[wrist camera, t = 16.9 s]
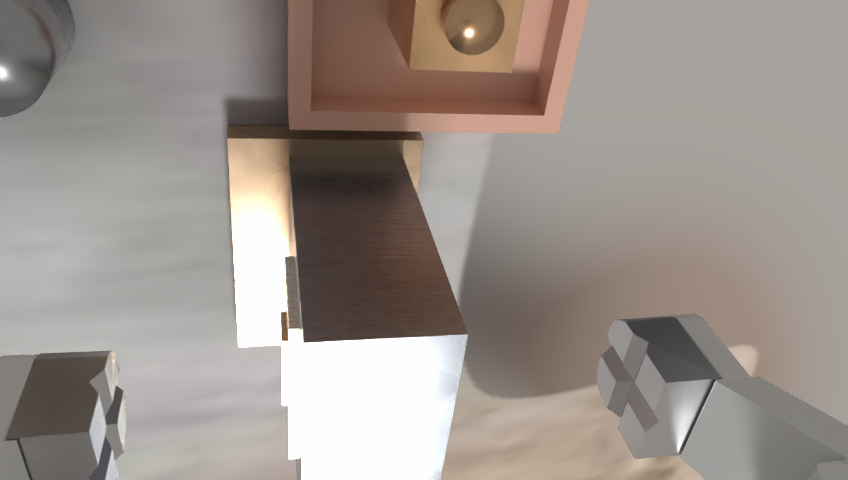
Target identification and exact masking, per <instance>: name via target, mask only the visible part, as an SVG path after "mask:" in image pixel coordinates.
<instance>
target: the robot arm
mask: <svg viewBox="0 0 848 480" xmlns="http://www.w3.org/2000/svg"><path fill="white" fill-rule="evenodd" d="M607 337H608V339H609V341H610V342H611V344H612V346H611V347H610V348H609V349H608V350H607V351H606V352H604V353H603V354H602V355H601V358H600V361H599V365H598V368H597V379H598V388H599V391H600V395H601V397H602V399H603V401H604V403H605V405H606V407H607V408H608V409H609V410H611V411H612V412H614V413H615V414H617V415H618V416H619V417H621V418H620V422H619V426H618V429H619V431H620V433H621V435H622V436H623V438H624V440H625V442H626V444H627V446H628V447H629V449H630V451H631V453H632V455H633V456H634V458H635V459H640V458H652V457H664V456H677V455H681V456H680V458H681V459H682V460H683V461H684V462H686V463H687V464H688V465H689V466H691V467H692V468H693V469H694V470H695V471H697V472H698V473H699V474H700V475H702V476H703V477H704V478H705V479H706V480H848V425H845V424H844V423H842V422H840V421H839V420H837V419H835V418H833V417H831V416H829V415H827V414H826V413H824V412H822V411H820V410H819V409H817V408H815V407H813V406H811V405H809V404H808V403H806V402H804V401H802V400H800V399H799V398H797V397H795V396H793V395H791V394H789V393H788V392H786V391H784V390H782V389H780V388H778V387H777V386H775V385H773V384H771V383H769V382H768V381H766V380H764V379H762V378H760V377H750V376H749V374H748V373H747V372H746V371H745V369H744V368H743V367H742V366H741V364H740V363H739V362H738V361H737V359H736V358H735V357H734V356H733V354H732V353H731V352H730V351H729V350H728V348H727V347H726V346H725V345H724V343H723V342H722V341H721V340H720V338H719V337H718V336H717V335H716V333H715V332H714V331H713V330H712V329H711V327H710V326H709V325H708V324H707V322H706V321H705V320H704V319H703V318H702V317H701V316H699V315H697V314H695V313H693V314H681V315H670V316H658V317H645V318H630V319H617V320H616V321H615V322H614V323H613V324H612V325H611V327H610V330H609V333H608V336H607ZM118 373H119V367H118V362H117V358H116V354H115V353H114V352H113V351H93V352H68V353H43V354H39V355H10V356H1V357H0V480H118V473H117V469H116V464H115V460H116V459H117V458H118V457H119V456H120V455H121V454H122V453H123V451H124V445H125V439H126V426H127V412H126V401H125V396H124V391H123V390H122V389H120V388H119V387H118V386H116V383H117V378H118Z"/></svg>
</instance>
